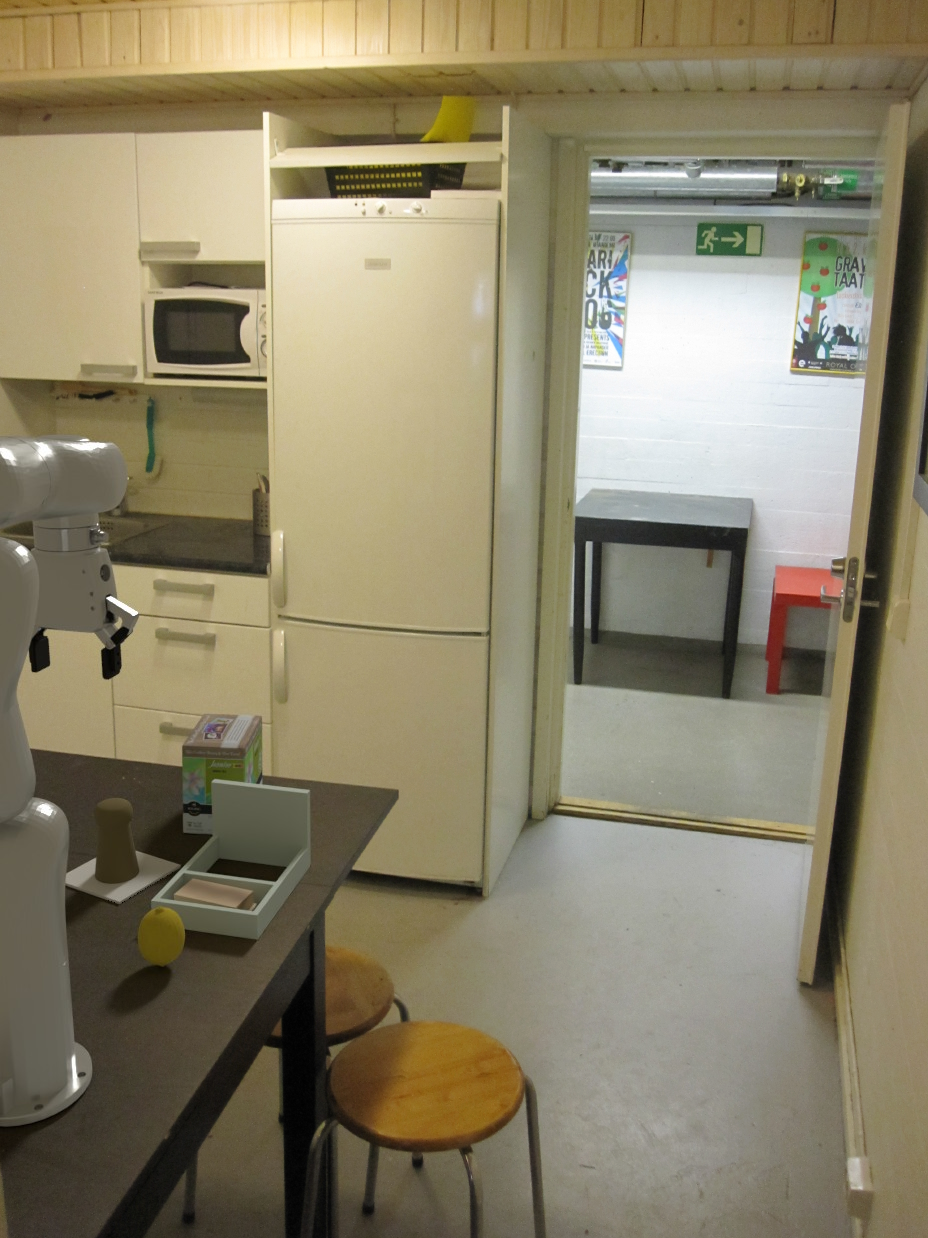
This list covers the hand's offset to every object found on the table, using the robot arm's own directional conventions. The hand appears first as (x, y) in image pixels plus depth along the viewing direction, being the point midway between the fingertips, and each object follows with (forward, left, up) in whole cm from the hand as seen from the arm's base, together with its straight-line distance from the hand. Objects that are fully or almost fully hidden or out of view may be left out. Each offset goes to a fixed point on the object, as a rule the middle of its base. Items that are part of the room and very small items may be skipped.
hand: (76, 672), depth 134 cm
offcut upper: (+7, -15, -32) cm, 36 cm away
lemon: (-5, -17, -34) cm, 38 cm away
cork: (+9, +4, -33) cm, 34 cm away
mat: (+9, +4, -33) cm, 35 cm away
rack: (+13, -14, -33) cm, 38 cm away
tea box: (+32, +4, -34) cm, 47 cm away
